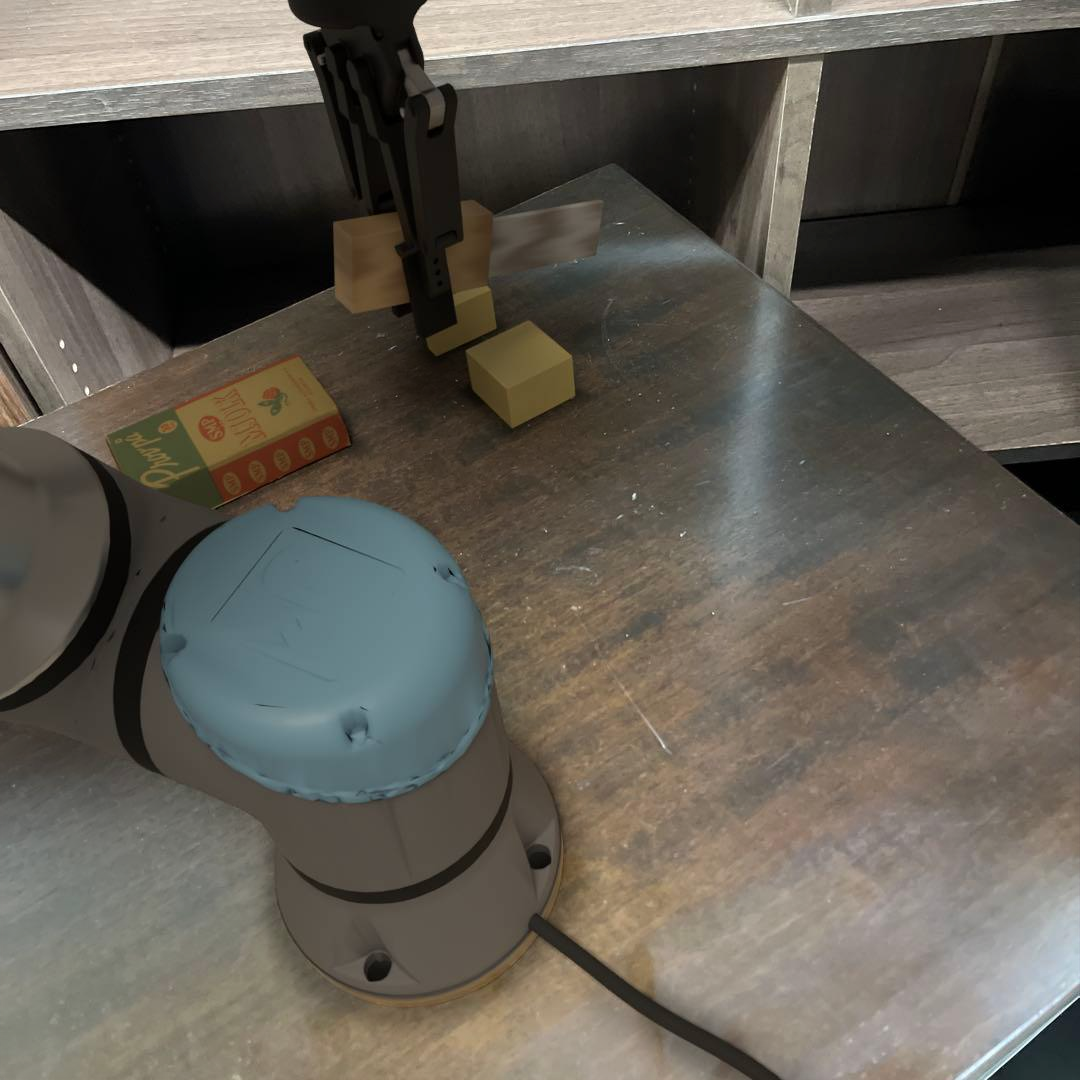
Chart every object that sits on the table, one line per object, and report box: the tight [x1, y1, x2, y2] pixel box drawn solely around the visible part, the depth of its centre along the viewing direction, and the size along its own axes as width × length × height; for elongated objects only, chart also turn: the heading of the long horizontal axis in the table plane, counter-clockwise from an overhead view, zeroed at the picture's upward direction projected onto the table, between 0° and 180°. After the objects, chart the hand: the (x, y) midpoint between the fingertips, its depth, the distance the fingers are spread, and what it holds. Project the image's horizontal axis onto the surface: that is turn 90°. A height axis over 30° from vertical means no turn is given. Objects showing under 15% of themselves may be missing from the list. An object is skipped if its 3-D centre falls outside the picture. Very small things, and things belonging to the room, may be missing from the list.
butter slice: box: [425, 286, 498, 357], centre depth 83 cm, size 2×6×4 cm, turn 123°
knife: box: [332, 199, 605, 315], centre depth 65 cm, size 20×2×5 cm, turn 125°
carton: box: [103, 353, 351, 510], centre depth 75 cm, size 8×16×4 cm, turn 121°
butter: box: [465, 319, 576, 429], centre depth 77 cm, size 6×6×4 cm
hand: (424, 317), depth 66 cm, fingers closed on knife, 2 cm apart
